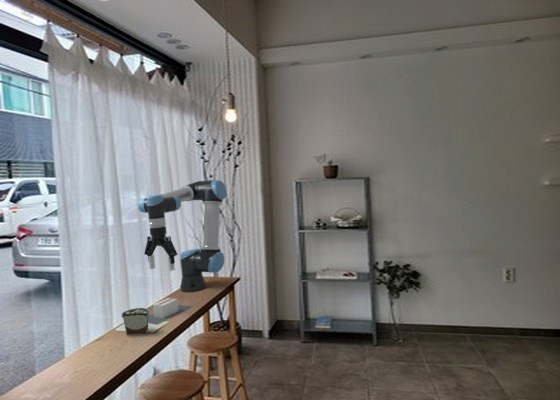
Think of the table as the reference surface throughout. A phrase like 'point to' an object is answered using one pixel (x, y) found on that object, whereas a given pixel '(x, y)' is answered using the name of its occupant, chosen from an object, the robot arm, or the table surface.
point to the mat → (159, 320)
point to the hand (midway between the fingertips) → (162, 269)
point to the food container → (136, 321)
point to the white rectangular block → (165, 307)
